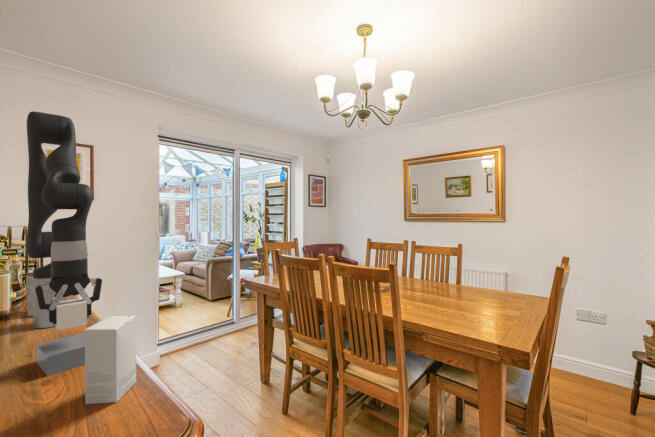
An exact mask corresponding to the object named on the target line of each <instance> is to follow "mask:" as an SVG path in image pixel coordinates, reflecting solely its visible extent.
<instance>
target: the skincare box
mask: <svg viewBox="0 0 655 437" xmlns="http://www.w3.org/2000/svg"><path fill="white" fill-rule="evenodd" d="M136 319H137V316H136V315H115V316H113V315H111V316H107V317H105V318H103V319H101V320H99V321H98V322H96V323H95V324H93V325H91V326H88V327H87V328H85V329H84V333H85V365H84V382H85V383H84V384H85V385H84V386H85V387H84V388H85V389H84V393H85V394H84V396H85V397H84V399H85V405H94V404H98V405H99V404H113V403H114V404H115V403H118V402H119V401H120V400H121V398H122V397H123V396H125V394H126V393H127V392H128V391H129V390H130V389H131V388H132V387H133V386H134V385H135V384H136V383H137V345H136V344H137V343H136V342H137V339H136V338H137V335H136V333H137V330H136V329H137V328H136V325H137V324H136V322H137V321H136Z"/></svg>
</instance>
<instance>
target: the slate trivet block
mask: <svg viewBox="0 0 655 437" xmlns="http://www.w3.org/2000/svg"><path fill="white" fill-rule="evenodd" d="M35 351H36V352H35V362H36V364H37V365H38V367H40V369H41V370H42V371H43V373H44V374H45V375H46V376H47V377H50V376H52V375H56V374H58V373H62V372H65V371H68V370H71V369H75V368H78V367H82V366H85V332H82V333H77V334H74V335H70V336H67V337H66V336H65V337H62V338H61V337H60V338H58V339H53V340H50V341H49V340H48V341H45V342H41V343H38V344H36V345H35Z"/></svg>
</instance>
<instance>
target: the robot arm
mask: <svg viewBox="0 0 655 437" xmlns="http://www.w3.org/2000/svg"><path fill="white" fill-rule="evenodd" d="M26 135H27V137H26V138H27V148H28V149H27V150H28V176H27V177H28V178H27V203H28V205H27V206H28V220H27V221H28V224H27V233H26V234H27V235H26V245H25V246H26V253H27V255H28V257H29V258H31V259H46V258H50V263H48V264H45V265H43V266H41V267H38V268H35V269H34V270H33V271H32V274H33V302H34V317H33V328H34V329H35V328H36V329H45V328H52V327H56V326H55V324H57V320H56V305H57V304H58V303H59V302H61V301H68V300H69V299H68V298H69V297H71V296H79V295H80V298H83V300H84V301H86V302H87V319H88V318H89V316H91V315H92V303H94V302H95V301H99V300H100V297H101V292H102V291H101V290H102V285H103V279H101V278H100V277H96V278H90V277H89V274H88V272H89V266H88V265H89V264H88V263H89V262H88V256H89V253H88V245H87V233H86V232H87V231H86V230H87V220H88V216H89V213H90V209H91V207H92V204H93V201H94V192H93V190H92V188H91V186H89V185H88V184H85V183H80V181H81V174H80V170H79V166H78V163H77V162H78V161H77V142H76V141H77V140H76V128H75V125H74V122H73V120H72V118H70V117H67V116H64V115H59V114H53V113H47V112H42V111H41V112H40V111H34V110H33V111H30V112H28V114H27V117H26ZM42 144H46V145H47V144H48V145H56V146H58V147H56V148H55V149H53V150H52V151H51V152H50V153H49V154H48V156H47V155H46V153H45V152H44V150H43V147H42ZM58 210H76V211H75V213H74V214H73V215H72V216H69V217H63V218H57V219H54V220H53V221H52V222H51V231H42V229H43V228H44V226H45V223H46V222H47V221H49V220H48V219H49V218H51V217H52V215H54V214H55V213H56V212H57V211H58ZM90 283H91V286H92V287H93V292H92V296H89V295H88V293H87V292H86V290H85V289H86V288H87V286H88V285H89V284H90Z"/></svg>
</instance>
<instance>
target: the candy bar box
mask: <svg viewBox="0 0 655 437" xmlns="http://www.w3.org/2000/svg"><path fill="white" fill-rule="evenodd" d="M25 282H26V284H25V286H26V287H25V288H26V308H27V310H26V311H27V317H33V318H34V302H33V273H31V274H30V273H29V274H26V275H25Z"/></svg>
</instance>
